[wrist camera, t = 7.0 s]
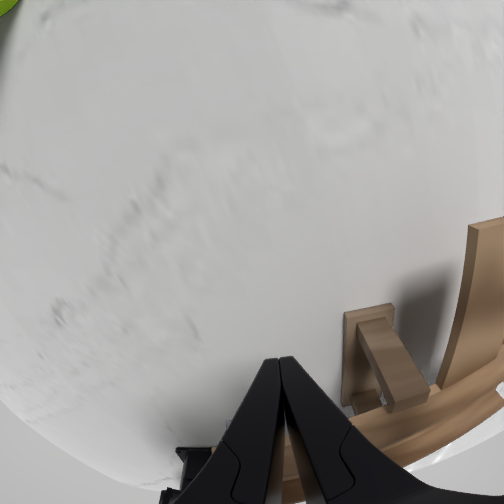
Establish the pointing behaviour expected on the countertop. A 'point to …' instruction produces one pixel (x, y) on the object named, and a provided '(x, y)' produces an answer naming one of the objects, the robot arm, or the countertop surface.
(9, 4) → the soap dispenser
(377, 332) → the stand
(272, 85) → the countertop surface
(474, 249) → the lever
